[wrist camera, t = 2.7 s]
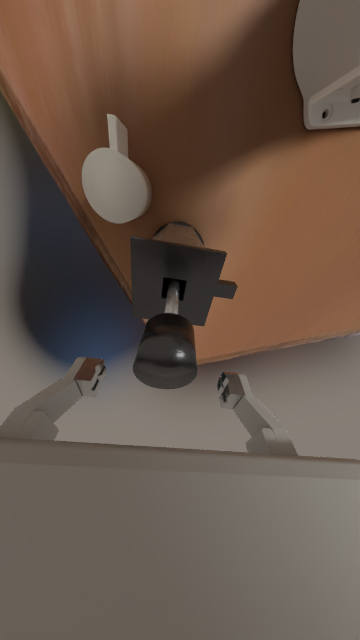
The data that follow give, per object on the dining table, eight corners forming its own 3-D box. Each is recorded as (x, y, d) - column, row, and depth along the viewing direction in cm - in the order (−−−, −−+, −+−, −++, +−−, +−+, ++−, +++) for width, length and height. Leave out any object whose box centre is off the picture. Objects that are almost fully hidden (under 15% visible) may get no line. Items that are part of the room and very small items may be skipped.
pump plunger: (190, 256, 27) (203, 354, 10) (186, 280, 29) (190, 391, 13) (164, 251, 26) (132, 346, 10) (162, 277, 29) (133, 386, 12)
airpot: (150, 273, 38) (130, 318, 24) (152, 216, 31) (126, 232, 17) (209, 282, 40) (224, 330, 25) (224, 229, 33) (256, 254, 18)
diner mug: (154, 139, 25) (142, 116, 18) (151, 221, 32) (141, 227, 25) (101, 128, 25) (68, 99, 17) (110, 213, 31) (87, 218, 24)
